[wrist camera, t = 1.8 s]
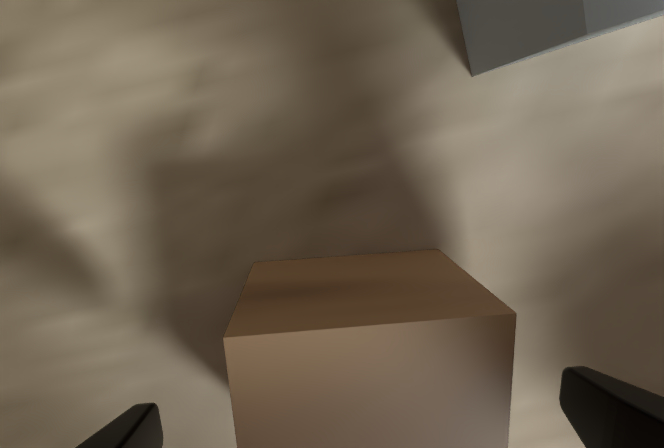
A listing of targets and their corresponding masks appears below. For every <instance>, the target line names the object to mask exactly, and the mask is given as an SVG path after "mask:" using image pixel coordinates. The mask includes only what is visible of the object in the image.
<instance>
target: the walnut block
mask: <svg viewBox="0 0 664 448" xmlns="http://www.w3.org/2000/svg"><path fill="white" fill-rule="evenodd" d="M515 329H516V312H514V311H513V310H512V309H511V308H509V307H508V306H507V305H506V304H505V303H503V302H502V301H501V300H500V299H498V298H497V297H496V296H495V295H494V294H492V293H491V292H490V291H489V290H487V289H486V288H485V287H484V286H483V285H481V284H480V283H479V282H478V281H476V280H475V279H474V278H473V277H472V276H470V275H469V274H468V273H467V272H465V271H464V270H463V269H462V268H461V267H459V266H458V265H457V264H456V263H455V262H453V261H452V260H451V259H450V258H448V257H447V256H446V255H445V254H444V253H442V252H441V251H440V250H439V249H431V250H417V251H404V252H390V253H376V254H362V255H349V256H335V257H321V258H307V259H294V260H280V261H266V262H254V264H253V266H252V269H251V271H250V273H249V276H248V278H247V281H246V283H245V285H244V288H243V290H242V293H241V295H240V298H239V300H238V302H237V305H236V307H235V310H234V312H233V315H232V317H231V319H230V322H229V324H228V327H227V329H226V332H225V334H224V336H223V342H224V350H225V358H226V365H227V373H228V380H229V388H230V396H231V403H232V411H233V419H234V426H235V434H236V442H237V448H508V436H509V420H510V405H511V390H512V375H513V359H514V344H515Z"/></svg>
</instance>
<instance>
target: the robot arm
mask: <svg viewBox="0 0 664 448" xmlns="http://www.w3.org/2000/svg"><path fill="white" fill-rule="evenodd" d="M559 400H560V405H561V408H562V410H563V412H564V414H565V415H566V417H567V418H568V420H569V422H570V423H571V425H572V426H573V428H574V430H575V431H576V433H577V434H578V436H579V438H580V439H581V441H582V442H583V444H584V445H585V447H586V448H664V397H662V396H659V395H657V394H654V393H652V392H649V391H646V390H644V389H641V388H639V387H636V386H634V385H631V384H629V383H626V382H623V381H621V380H618V379H616V378H613V377H611V376H608V375H606V374H603V373H600V372H598V371H595V370H593V369H590V368H588V367H585V366H575V367H567V368H565V369H564V370H563V372H562V378H561V387H560V396H559ZM162 445H163V431H162V426H161V420H160V414H159V409H158V406H157V404H155V403H142V404H136V405H134V406H132V407H131V408H130V409H128V410H127V411H125V412H124V413H123V414H121V415H120V416H118V417H117V418H116V419H114V420H113V421H111V422H110V423H109V424H107V425H106V426H105V427H103V428H102V429H100V430H99V431H98V432H96V433H95V434H93V435H92V436H91V437H89V438H88V439H87V440H85V441H84V442H82V443H81V444H80V445H78V446H77V447H75V448H162Z"/></svg>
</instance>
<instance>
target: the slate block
mask: <svg viewBox="0 0 664 448" xmlns="http://www.w3.org/2000/svg"><path fill="white" fill-rule="evenodd" d="M456 2H457V7H458V11H459V16H460V21H461V26H462V31H463V36H464V40H465V45H466V50H467V55H468V60H469V65H470V69H471V74H472V77H473V76H476V75H479V74H482V73H486V72H489V71H492V70H495V69H498V68H501V67H504V66H507V65H510V64H513V63H517V62H520V61H523V60H526V59H529V58H532V57H535V56H538V55H541V54H544V53H547V52H551V51H554V50H557V49H560V48H563V47H566V46H569V45H572V44H575V43H578V42H582V41H585V40H588V39H591V38H594V37H597V36H600V35H603V34H606V33H609V32H612V31H616V30H619V29H622V28H625V27H628V26H631V25H634V24H637V23H640V22H643V21H647V20H650V19H653V18H656V17H659V16H662V15H664V0H456Z"/></svg>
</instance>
